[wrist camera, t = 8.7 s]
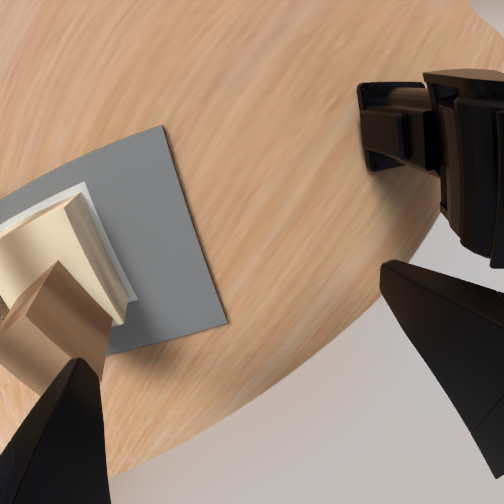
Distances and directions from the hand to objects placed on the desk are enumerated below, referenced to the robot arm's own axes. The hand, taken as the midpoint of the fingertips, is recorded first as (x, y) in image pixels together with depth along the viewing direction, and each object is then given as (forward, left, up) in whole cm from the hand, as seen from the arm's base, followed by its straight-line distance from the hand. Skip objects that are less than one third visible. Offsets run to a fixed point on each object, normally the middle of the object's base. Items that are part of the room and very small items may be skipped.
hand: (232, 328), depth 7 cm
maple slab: (+11, +1, -11) cm, 16 cm away
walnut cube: (+10, +3, -8) cm, 14 cm away
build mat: (+9, +3, -12) cm, 15 cm away
